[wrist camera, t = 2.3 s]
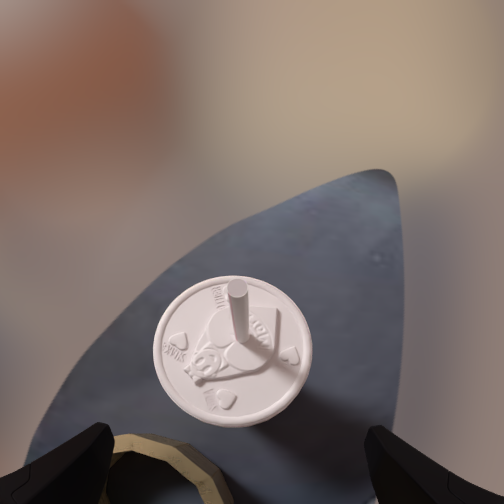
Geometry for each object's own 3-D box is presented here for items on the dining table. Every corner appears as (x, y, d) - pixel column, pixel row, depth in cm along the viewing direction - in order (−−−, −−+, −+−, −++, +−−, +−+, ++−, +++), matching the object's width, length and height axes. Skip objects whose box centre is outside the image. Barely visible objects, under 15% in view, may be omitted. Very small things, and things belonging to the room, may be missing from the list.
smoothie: (306, 385, 19) (392, 308, 7) (234, 444, 17) (199, 482, 5) (245, 321, 22) (238, 175, 10) (176, 374, 19) (71, 283, 8)
